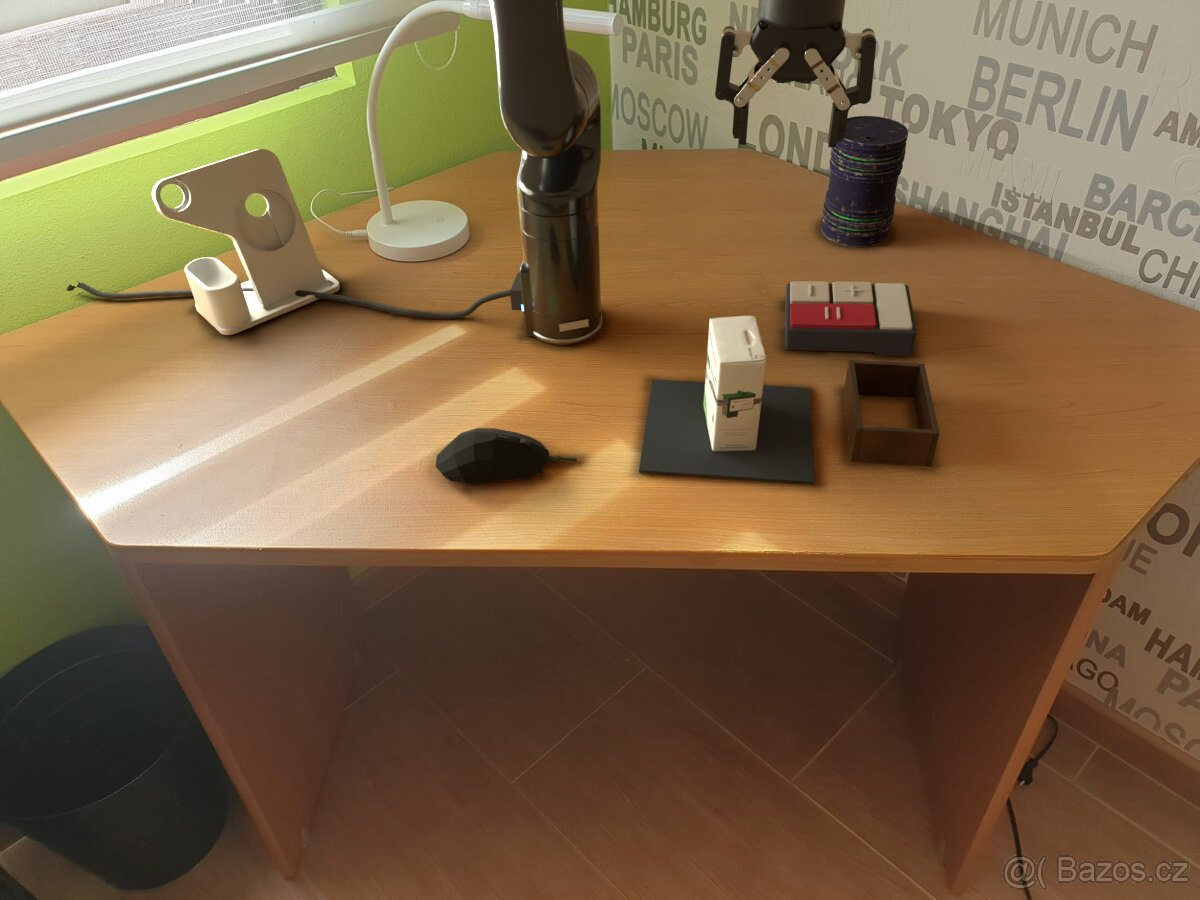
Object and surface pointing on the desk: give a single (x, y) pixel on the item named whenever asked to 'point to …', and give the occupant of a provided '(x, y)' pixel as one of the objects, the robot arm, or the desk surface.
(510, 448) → the gaming mouse
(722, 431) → the ink box
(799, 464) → the mat
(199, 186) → the phone holder
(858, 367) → the box
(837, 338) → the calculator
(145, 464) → the desk surface
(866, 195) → the navy blue cylinder
